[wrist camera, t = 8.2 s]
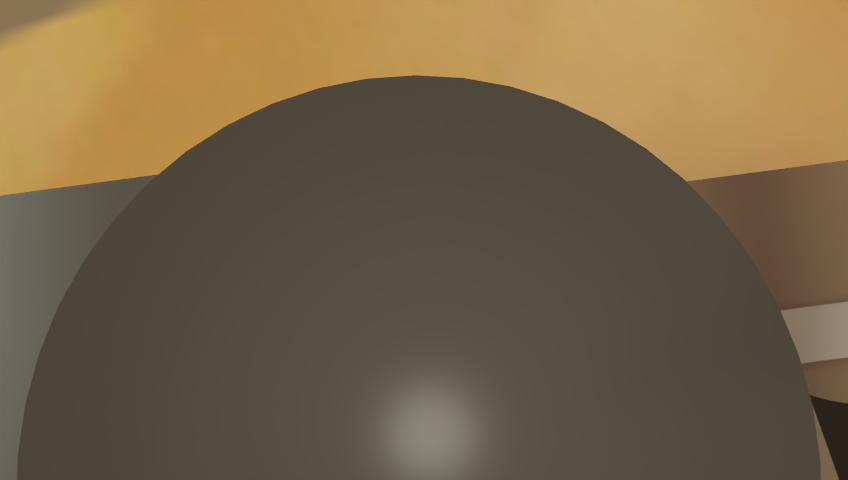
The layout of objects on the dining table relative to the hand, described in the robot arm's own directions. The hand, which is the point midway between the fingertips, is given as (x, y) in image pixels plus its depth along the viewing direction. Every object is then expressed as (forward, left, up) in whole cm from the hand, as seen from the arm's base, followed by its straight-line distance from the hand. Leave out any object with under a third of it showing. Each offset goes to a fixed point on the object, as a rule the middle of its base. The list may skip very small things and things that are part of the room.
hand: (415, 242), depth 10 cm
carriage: (0, -2, -7) cm, 7 cm away
